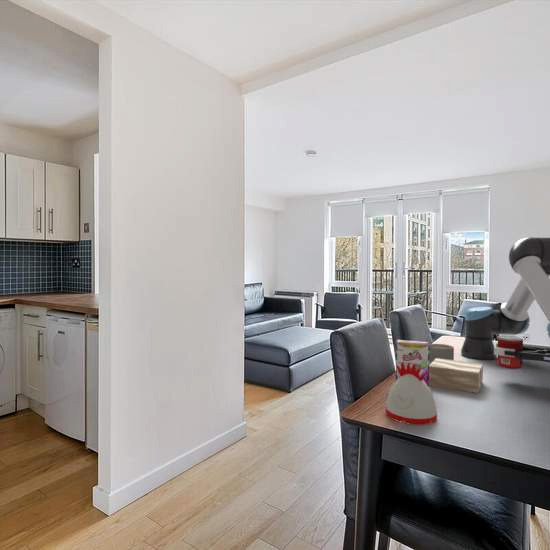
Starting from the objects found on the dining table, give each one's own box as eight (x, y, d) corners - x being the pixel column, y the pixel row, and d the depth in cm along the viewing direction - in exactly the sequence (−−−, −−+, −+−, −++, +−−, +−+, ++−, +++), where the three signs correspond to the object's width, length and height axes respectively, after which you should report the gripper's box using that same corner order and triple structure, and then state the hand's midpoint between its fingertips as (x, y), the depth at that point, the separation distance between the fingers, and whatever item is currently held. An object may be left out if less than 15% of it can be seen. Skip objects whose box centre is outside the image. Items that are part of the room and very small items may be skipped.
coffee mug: (454, 368, 156) (454, 345, 156) (453, 374, 148) (453, 349, 147) (420, 364, 163) (420, 342, 163) (417, 370, 154) (417, 346, 154)
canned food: (526, 369, 135) (526, 339, 134) (502, 368, 136) (502, 338, 136) (517, 364, 142) (517, 335, 142) (494, 363, 144) (494, 334, 144)
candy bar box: (395, 388, 131) (395, 341, 131) (395, 384, 136) (395, 339, 135) (429, 391, 127) (429, 344, 127) (428, 387, 132) (429, 341, 132)
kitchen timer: (399, 402, 117) (399, 355, 117) (444, 414, 108) (444, 363, 108) (377, 415, 107) (377, 363, 107) (424, 429, 98) (425, 372, 98)
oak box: (436, 375, 146) (436, 358, 146) (482, 382, 137) (482, 364, 137) (428, 385, 135) (428, 365, 135) (478, 393, 126) (478, 372, 126)
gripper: (573, 375, 121) (492, 364, 134) (568, 361, 138) (496, 353, 151) (574, 352, 120) (492, 343, 133) (568, 341, 137) (497, 334, 150)
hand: (495, 348), depth 142 cm, fingers closed on canned food, 8 cm apart
